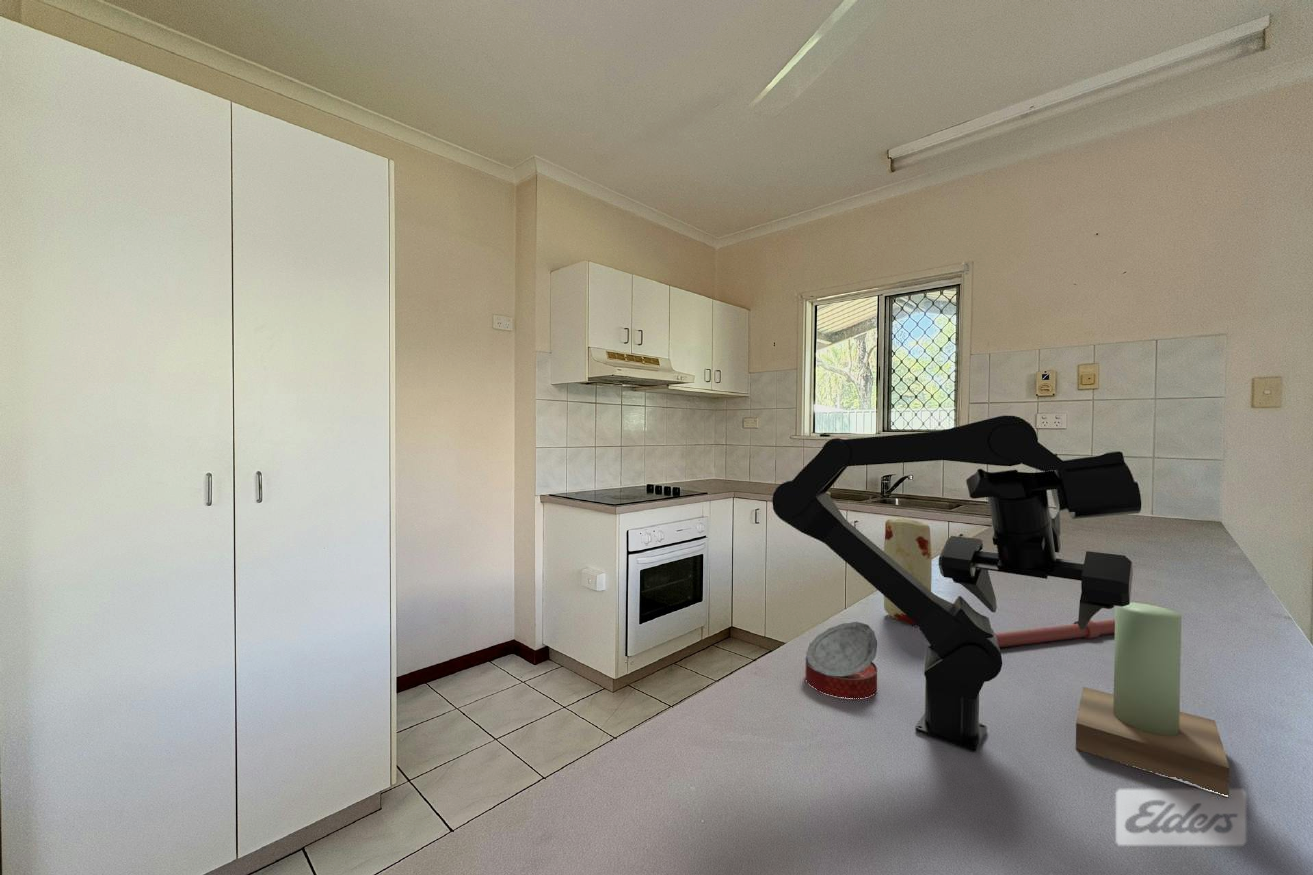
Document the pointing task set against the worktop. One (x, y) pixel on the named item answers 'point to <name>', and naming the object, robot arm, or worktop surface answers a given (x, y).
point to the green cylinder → (1147, 668)
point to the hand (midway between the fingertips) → (1036, 618)
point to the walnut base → (1154, 744)
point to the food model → (908, 555)
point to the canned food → (843, 661)
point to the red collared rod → (1055, 633)
